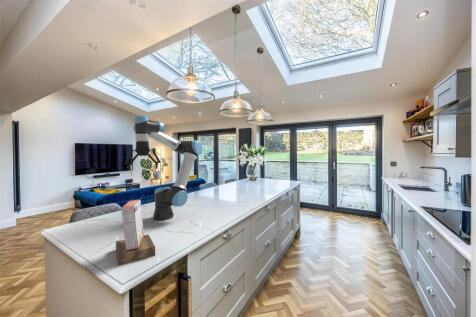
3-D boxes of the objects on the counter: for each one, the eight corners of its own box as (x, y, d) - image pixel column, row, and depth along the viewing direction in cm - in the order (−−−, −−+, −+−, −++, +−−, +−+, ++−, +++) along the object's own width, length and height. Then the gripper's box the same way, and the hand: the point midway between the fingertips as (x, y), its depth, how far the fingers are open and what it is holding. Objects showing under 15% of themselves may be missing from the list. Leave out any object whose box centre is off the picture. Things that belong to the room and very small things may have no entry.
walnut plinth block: (148, 243, 118) (148, 234, 118) (155, 256, 103) (155, 246, 102) (116, 250, 109) (115, 241, 109) (117, 266, 94) (117, 255, 94)
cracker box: (132, 239, 111) (128, 200, 111) (144, 237, 113) (141, 199, 112) (124, 251, 98) (120, 207, 97) (138, 249, 99) (134, 205, 98)
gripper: (119, 140, 121) (121, 177, 122) (164, 140, 133) (165, 173, 134) (119, 141, 127) (121, 175, 128) (162, 141, 140) (163, 172, 141)
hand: (143, 174), depth 131 cm, fingers open, 13 cm apart
